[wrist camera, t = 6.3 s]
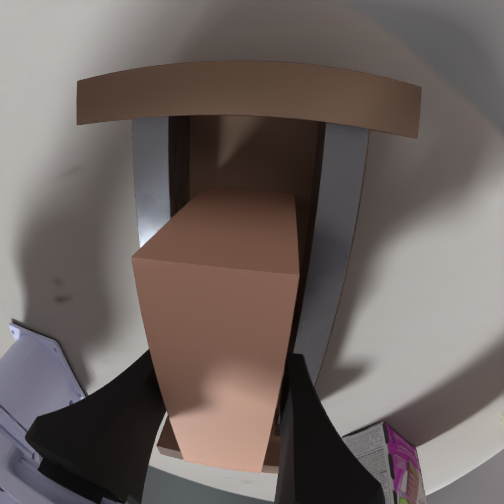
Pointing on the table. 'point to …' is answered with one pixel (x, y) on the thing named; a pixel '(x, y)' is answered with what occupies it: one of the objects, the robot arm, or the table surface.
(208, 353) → the salmon orange block
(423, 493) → the candy bar box
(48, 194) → the table surface
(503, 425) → the reusable coffee cup
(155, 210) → the track base
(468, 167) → the table surface
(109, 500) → the robot arm
